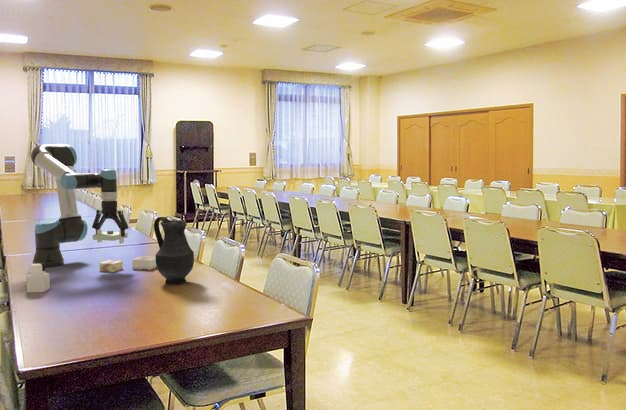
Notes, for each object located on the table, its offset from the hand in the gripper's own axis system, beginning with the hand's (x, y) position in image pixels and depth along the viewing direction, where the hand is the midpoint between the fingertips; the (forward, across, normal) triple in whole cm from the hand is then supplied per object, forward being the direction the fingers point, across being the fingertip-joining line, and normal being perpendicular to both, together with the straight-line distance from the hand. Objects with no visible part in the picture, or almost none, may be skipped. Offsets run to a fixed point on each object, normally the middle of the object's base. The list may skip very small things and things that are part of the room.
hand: (110, 242), depth 294 cm
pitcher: (+14, +43, -16) cm, 48 cm away
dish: (+14, +14, +10) cm, 22 cm away
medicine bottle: (+14, -4, -47) cm, 49 cm away
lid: (-2, 0, 0) cm, 2 cm away
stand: (+14, 0, 0) cm, 14 cm away
